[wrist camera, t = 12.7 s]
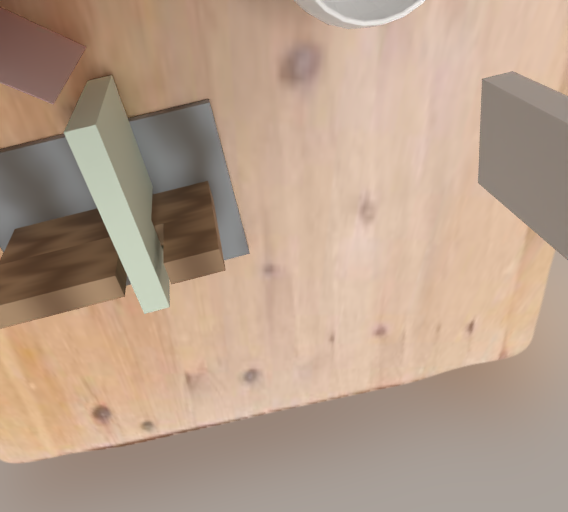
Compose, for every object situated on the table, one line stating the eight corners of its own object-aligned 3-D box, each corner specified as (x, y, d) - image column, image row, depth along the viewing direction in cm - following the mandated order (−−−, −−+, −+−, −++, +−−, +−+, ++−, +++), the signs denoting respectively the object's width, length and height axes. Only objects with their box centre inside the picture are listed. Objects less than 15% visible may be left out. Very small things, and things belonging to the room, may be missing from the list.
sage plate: (87, 80, 42) (63, 132, 32) (111, 75, 42) (95, 124, 32) (148, 235, 50) (144, 313, 41) (168, 230, 51) (169, 307, 41)
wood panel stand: (39, 302, 53) (7, 400, 43) (-45, 160, 44) (-112, 238, 34) (248, 248, 55) (268, 330, 44) (208, 99, 45) (222, 156, 35)
